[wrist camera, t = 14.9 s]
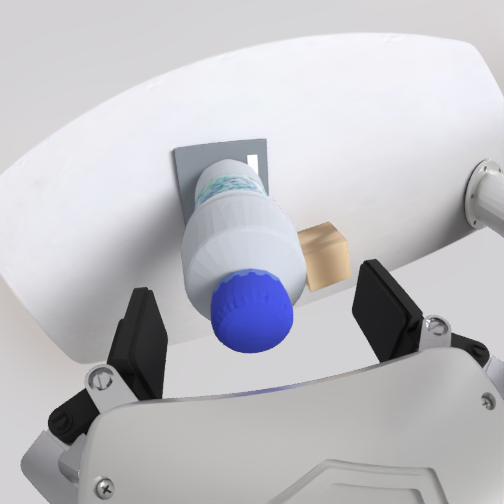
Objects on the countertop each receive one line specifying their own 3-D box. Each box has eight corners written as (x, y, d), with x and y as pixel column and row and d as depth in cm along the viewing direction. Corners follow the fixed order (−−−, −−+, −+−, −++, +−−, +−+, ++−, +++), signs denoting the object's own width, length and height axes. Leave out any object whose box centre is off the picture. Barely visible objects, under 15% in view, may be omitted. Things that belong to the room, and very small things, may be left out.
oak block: (328, 221, 32) (347, 240, 28) (334, 255, 34) (351, 276, 30) (289, 234, 32) (303, 255, 28) (298, 268, 35) (311, 292, 30)
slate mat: (265, 138, 26) (266, 139, 26) (268, 220, 31) (269, 222, 30) (175, 148, 25) (174, 149, 25) (186, 229, 30) (186, 232, 29)
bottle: (231, 228, 30) (260, 397, 12) (181, 191, 27) (136, 345, 10) (274, 182, 28) (370, 316, 11) (224, 140, 25) (252, 217, 8)
